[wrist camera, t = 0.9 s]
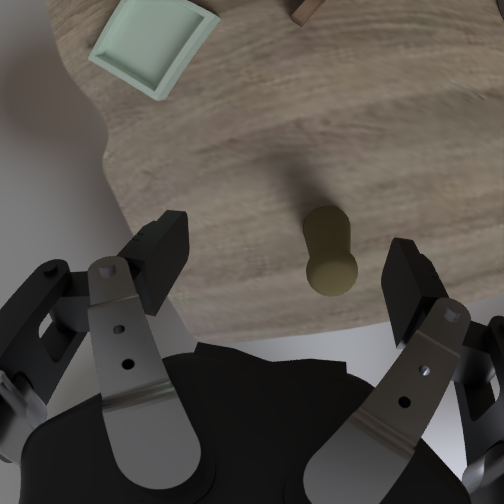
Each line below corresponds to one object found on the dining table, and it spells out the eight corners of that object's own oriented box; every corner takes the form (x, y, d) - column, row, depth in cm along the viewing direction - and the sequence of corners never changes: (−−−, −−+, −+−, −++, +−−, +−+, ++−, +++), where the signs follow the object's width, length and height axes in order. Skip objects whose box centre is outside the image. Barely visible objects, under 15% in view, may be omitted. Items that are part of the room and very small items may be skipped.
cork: (293, 222, 38) (289, 273, 29) (335, 197, 36) (345, 243, 26) (319, 257, 40) (321, 314, 31) (359, 235, 38) (374, 289, 28)
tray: (145, -18, 24) (136, -22, 22) (221, 19, 26) (215, 14, 24) (99, 58, 30) (87, 59, 28) (165, 99, 32) (156, 100, 30)
